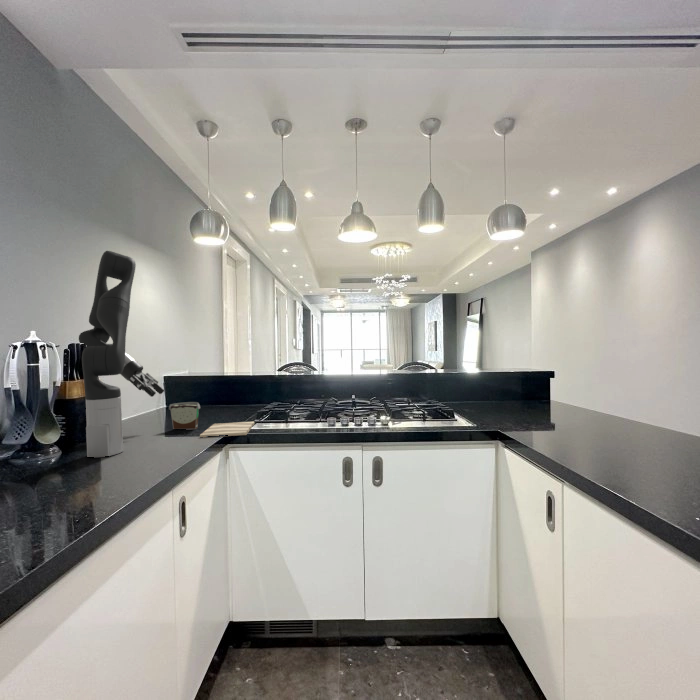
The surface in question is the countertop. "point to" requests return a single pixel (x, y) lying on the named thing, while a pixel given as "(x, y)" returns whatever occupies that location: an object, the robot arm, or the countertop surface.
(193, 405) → the food container
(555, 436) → the countertop surface
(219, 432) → the birch board
